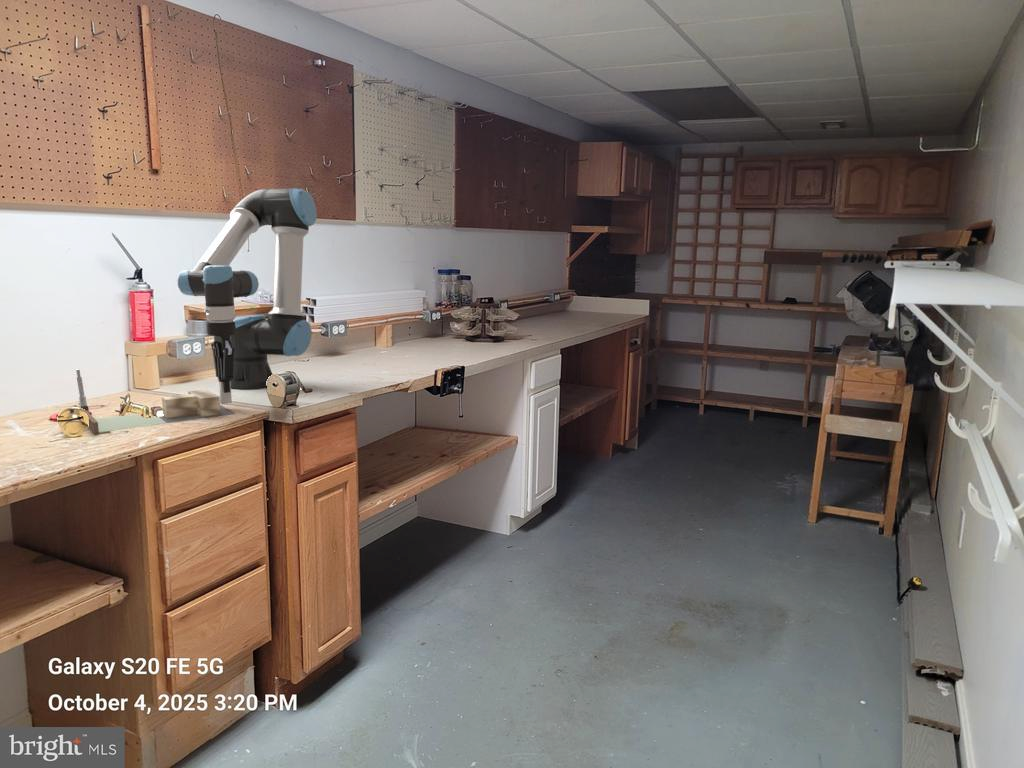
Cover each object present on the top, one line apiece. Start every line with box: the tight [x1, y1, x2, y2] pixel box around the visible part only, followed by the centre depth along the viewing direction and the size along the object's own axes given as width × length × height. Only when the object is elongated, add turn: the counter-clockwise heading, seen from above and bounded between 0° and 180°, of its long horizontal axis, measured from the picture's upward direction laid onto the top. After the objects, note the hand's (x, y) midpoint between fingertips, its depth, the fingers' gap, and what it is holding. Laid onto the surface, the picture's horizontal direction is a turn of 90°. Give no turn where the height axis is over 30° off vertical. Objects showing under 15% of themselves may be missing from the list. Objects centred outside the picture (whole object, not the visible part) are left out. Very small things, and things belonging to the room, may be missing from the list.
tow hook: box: [49, 368, 92, 422], centre depth 202 cm, size 8×13×9 cm
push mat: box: [85, 404, 236, 435], centre depth 202 cm, size 35×16×3 cm, turn 128°
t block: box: [161, 388, 221, 418], centre depth 207 cm, size 13×12×5 cm
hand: (226, 403), depth 213 cm, fingers closed
